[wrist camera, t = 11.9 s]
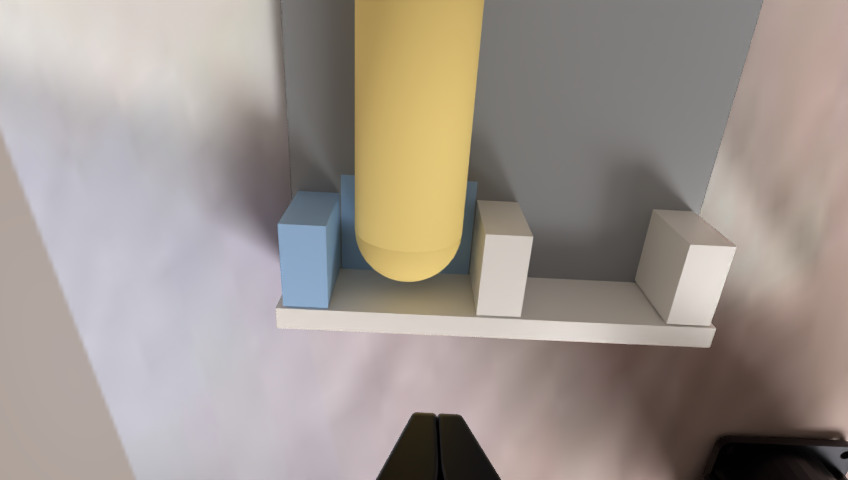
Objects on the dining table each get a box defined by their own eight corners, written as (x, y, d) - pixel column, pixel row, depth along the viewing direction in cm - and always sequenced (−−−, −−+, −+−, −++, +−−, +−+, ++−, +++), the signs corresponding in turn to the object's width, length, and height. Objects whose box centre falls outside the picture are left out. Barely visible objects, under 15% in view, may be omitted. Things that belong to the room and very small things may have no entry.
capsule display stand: (822, -237, 14) (938, -304, 11) (665, 296, 22) (708, 350, 18) (270, -277, 14) (225, -358, 11) (299, 278, 21) (277, 330, 18)
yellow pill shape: (361, -200, 14) (346, -257, 11) (493, -190, 14) (517, -243, 11) (359, 250, 20) (349, 300, 17) (453, 254, 20) (461, 304, 17)
